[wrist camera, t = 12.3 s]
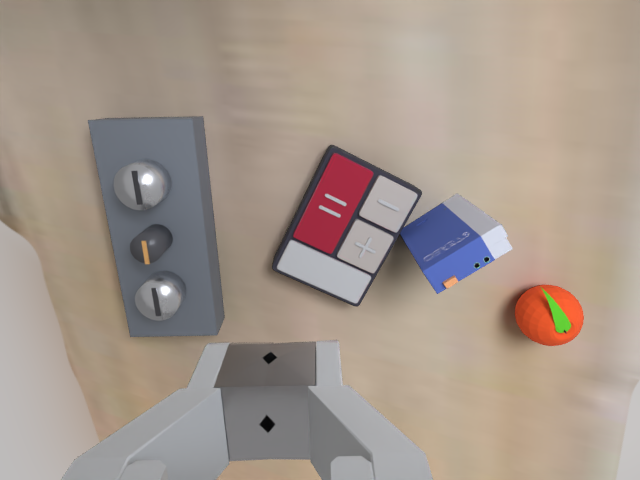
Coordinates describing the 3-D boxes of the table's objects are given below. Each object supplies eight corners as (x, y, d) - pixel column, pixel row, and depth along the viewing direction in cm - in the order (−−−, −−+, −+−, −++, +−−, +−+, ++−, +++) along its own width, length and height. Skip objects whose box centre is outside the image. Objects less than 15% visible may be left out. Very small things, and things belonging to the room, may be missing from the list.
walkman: (410, 249, 48) (438, 296, 37) (397, 230, 48) (423, 273, 36) (469, 212, 47) (518, 249, 36) (458, 192, 46) (503, 224, 35)
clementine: (494, 283, 50) (521, 312, 43) (549, 258, 49) (586, 284, 42) (515, 333, 52) (544, 368, 46) (568, 311, 51) (606, 343, 45)
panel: (108, 118, 43) (87, 120, 39) (203, 116, 43) (192, 118, 39) (144, 319, 51) (130, 336, 47) (224, 317, 51) (217, 335, 47)
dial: (141, 224, 43) (126, 235, 39) (170, 223, 43) (158, 235, 39) (146, 251, 44) (131, 264, 40) (174, 250, 44) (162, 263, 40)
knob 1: (140, 154, 44) (108, 164, 38) (180, 153, 44) (156, 164, 38) (146, 194, 46) (117, 211, 39) (185, 193, 46) (163, 210, 39)
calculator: (426, 192, 43) (358, 311, 46) (415, 186, 47) (354, 295, 51) (331, 145, 41) (269, 272, 45) (329, 142, 45) (272, 258, 49)
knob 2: (156, 257, 48) (131, 283, 42) (194, 257, 48) (174, 282, 42) (162, 291, 50) (138, 321, 43) (198, 290, 50) (180, 320, 43)
